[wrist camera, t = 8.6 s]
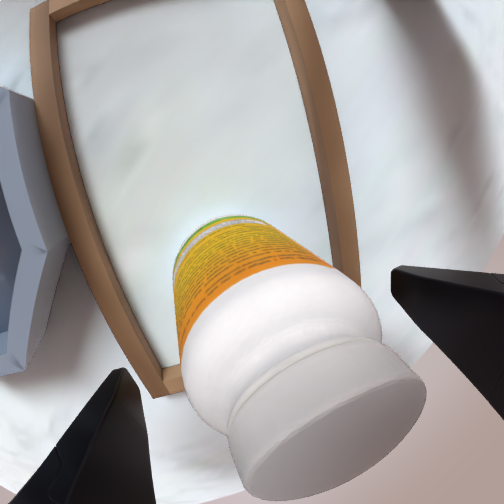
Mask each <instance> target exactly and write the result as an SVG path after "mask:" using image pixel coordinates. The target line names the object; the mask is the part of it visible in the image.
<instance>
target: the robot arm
mask: <svg viewBox="0 0 504 504" xmlns="http://www.w3.org/2000/svg"><path fill="white" fill-rule="evenodd" d="M391 293H392V296H393V297H394V298H395V300H396V301H397V302H398V303H399V304H400V306H401V307H402V308H403V309H404V310H405V312H406V313H407V314H408V315H409V317H410V318H411V319H412V320H413V321H414V323H415V324H416V325H417V326H418V327H419V328H420V329H421V330H422V331H423V332H424V333H425V334H426V335H427V336H428V337H429V338H430V339H431V340H432V341H433V342H434V343H435V344H436V345H437V346H438V347H439V348H440V349H441V351H442V352H443V353H444V354H445V355H446V356H447V357H448V358H449V359H450V360H451V361H452V362H453V363H454V364H455V365H456V366H457V367H458V369H460V371H461V372H462V373H463V374H464V375H465V376H466V377H467V378H468V379H469V380H470V382H471V383H472V384H473V385H474V386H475V387H476V388H477V389H478V391H479V392H480V393H481V394H482V395H483V396H484V397H485V398H486V400H487V401H488V402H489V403H490V405H491V406H492V407H493V408H494V409H495V410H496V412H497V413H498V414H499V415H500V416H501V417H502V419H503V420H504V274H496V273H483V272H472V271H461V270H449V269H438V268H426V267H415V266H403V265H401V266H399V267H396V268H394V269H393V270H392V271H391ZM8 504H156V500H155V494H154V487H153V480H152V472H151V463H150V454H149V444H148V434H147V428H146V423H145V417H144V412H143V406H142V400H141V394H140V390H139V387H138V385H137V384H136V382H135V381H134V379H133V378H132V376H131V375H130V373H129V372H128V370H127V369H126V368H119V369H115V370H113V371H112V372H111V373H110V374H109V375H108V377H107V378H106V379H105V381H104V382H103V383H102V384H101V386H100V387H99V388H98V390H97V391H96V392H95V393H94V395H93V396H92V397H91V399H90V400H89V401H88V403H87V404H86V405H85V406H84V408H83V409H82V410H81V412H80V413H79V414H78V416H77V417H76V418H75V420H74V421H73V422H72V424H71V425H70V426H69V428H68V429H67V430H66V432H65V433H64V435H63V436H62V437H61V439H60V440H59V441H58V443H57V444H56V447H54V448H53V450H52V451H51V452H50V454H49V455H48V456H47V458H46V459H45V460H44V462H43V463H42V464H41V466H40V467H39V468H38V469H37V471H36V472H35V473H34V474H33V476H32V477H31V478H30V479H29V480H28V482H27V483H26V484H25V485H24V486H23V487H22V489H21V490H20V491H19V492H18V493H17V495H16V496H15V497H14V498H13V500H11V502H10V503H8Z"/></svg>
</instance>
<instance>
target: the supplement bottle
mask: <svg viewBox="0 0 504 504" xmlns="http://www.w3.org/2000/svg"><path fill="white" fill-rule="evenodd" d="M173 291H174V303H175V315H176V325H177V335H178V345H179V355H180V365H181V373H182V377H183V382H184V387H185V390H186V393H187V396H188V399H189V401H190V403H191V405H192V407H193V408H194V410H195V411H196V412H197V414H198V415H199V416H200V417H201V419H202V420H203V421H205V422H206V423H207V424H208V425H209V426H211V427H212V428H213V429H215V430H217V431H218V432H220V433H222V434H224V435H226V436H227V437H228V442H229V448H230V451H231V454H232V457H233V460H234V462H235V465H236V468H237V471H238V473H239V476H240V479H241V481H242V484H243V486H244V488H245V489H246V490H247V491H248V493H250V494H251V495H252V496H254V497H257V498H260V499H263V500H268V501H287V500H294V499H300V498H305V497H309V496H312V495H315V494H319V493H322V492H325V491H327V490H330V489H333V488H335V487H337V486H339V485H342V484H343V483H346V482H348V481H350V480H351V479H353V478H355V477H357V476H358V475H360V474H362V473H363V472H365V471H366V470H368V469H369V468H371V467H372V466H374V465H375V464H376V463H378V462H379V461H380V460H382V458H384V457H385V456H386V455H388V454H389V452H391V451H392V450H393V449H394V448H395V447H396V446H397V445H398V444H399V443H400V442H401V441H402V440H403V438H404V437H405V436H406V435H407V434H408V432H409V431H410V430H411V429H412V427H413V426H414V424H415V423H416V421H417V420H418V418H419V416H420V414H421V412H422V410H423V407H424V404H425V401H426V388H425V385H424V383H423V381H422V379H421V378H420V377H419V376H418V375H417V374H416V373H415V372H413V370H412V369H410V367H409V366H408V365H407V364H406V363H405V362H404V361H403V360H402V359H400V358H399V356H398V355H397V354H396V353H395V352H394V351H393V350H392V349H391V348H389V347H387V346H385V345H383V344H381V343H382V330H381V323H380V319H379V316H378V313H377V310H376V308H375V306H374V304H373V302H372V301H371V299H370V298H369V296H368V295H367V294H366V293H365V291H364V290H363V289H362V288H361V287H359V286H358V285H357V284H356V283H355V282H354V281H352V280H351V279H350V278H348V277H347V276H346V275H344V274H343V273H341V272H340V271H339V270H337V269H336V268H334V267H333V266H331V265H330V264H328V263H327V262H325V261H324V260H322V259H321V258H319V257H318V256H316V255H315V254H314V253H312V252H311V251H309V250H308V249H306V248H305V247H303V246H302V245H300V244H299V243H297V242H296V241H294V240H293V239H291V238H290V237H288V236H287V235H285V234H284V233H282V232H281V231H279V230H278V229H276V228H275V227H273V226H272V225H270V224H268V223H267V222H265V221H263V220H261V219H258V218H255V217H252V216H247V215H226V216H221V217H217V218H214V219H212V220H209V221H207V222H206V223H204V224H202V225H201V226H199V227H198V228H197V229H195V230H194V231H193V232H192V233H191V234H190V235H189V236H188V237H187V239H186V240H185V241H184V242H183V244H182V245H181V247H180V249H179V251H178V253H177V256H176V259H175V263H174V268H173Z"/></svg>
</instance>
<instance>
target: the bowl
mask: <svg viewBox="0 0 504 504" xmlns="http://www.w3.org/2000/svg"><path fill="white" fill-rule="evenodd" d="M69 245H70V239H69V236H68V233H67V231H66V228H65V225H64V222H63V219H62V216H61V213H60V210H59V207H58V204H57V201H56V198H55V194H54V191H53V187H52V184H51V180H50V177H49V173H48V169H47V165H46V161H45V157H44V152H43V148H42V143H41V138H40V133H39V128H38V123H37V117H36V110H35V103H34V99H32V98H30V97H27V96H25V95H23V94H21V93H18V92H16V91H14V90H12V89H9V88H7V87H5V86H2V85H0V376H3V375H8V374H13V373H18V372H23V371H25V370H26V368H27V366H28V364H29V362H30V360H31V358H32V356H33V354H34V352H35V350H36V348H37V347H38V345H39V343H40V341H41V339H42V337H43V336H44V334H45V332H46V328H47V323H48V318H49V314H50V310H51V306H52V302H53V298H54V294H55V290H56V287H57V283H58V279H59V276H60V273H61V269H62V266H63V263H64V260H65V257H66V254H67V251H68V248H69Z"/></svg>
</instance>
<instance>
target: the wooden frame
mask: <svg viewBox="0 0 504 504" xmlns="http://www.w3.org/2000/svg"><path fill="white" fill-rule="evenodd" d="M107 1H110V0H47V1H45V2H43V3H41V4H39V5H37V6H36V7H34V8H32V9H30V30H29V37H30V64H31V77H32V87H33V96H34V103H35V110H36V117H37V123H38V128H39V133H40V138H41V143H42V148H43V152H44V157H45V161H46V165H47V169H48V173H49V177H50V180H51V184H52V187H53V191H54V194H55V198H56V201H57V204H58V207H59V210H60V213H61V216H62V219H63V222H64V225H65V228H66V231H67V233H68V236H69V239H70V242H71V244H72V247H73V249H74V252H75V254H76V257H77V259H78V262H79V264H80V266H81V269H82V271H83V273H84V276H85V278H86V280H87V282H88V285H89V287H90V289H91V291H92V293H93V295H94V298H95V300H96V302H97V304H98V306H99V308H100V310H101V312H102V314H103V316H104V318H105V320H106V321H107V323H108V325H109V327H110V329H111V331H112V333H113V334H114V336H115V338H116V340H117V342H118V343H119V345H120V347H121V349H122V350H123V352H124V354H125V355H126V357H127V359H128V360H129V362H130V364H131V365H132V367H133V369H134V370H135V372H136V373H137V375H138V377H139V378H140V380H141V381H142V383H143V384H144V386H145V387H146V389H147V390H148V392H149V393H150V395H151V396H152V398H153V399H155V398H159V397H162V396H166V395H170V394H174V393H177V392H181V391H185V387H184V382H183V377H182V373H181V365H180V364H178V365H174V366H171V367H168V368H164V369H162V368H161V366H160V364H159V363H158V361H157V359H156V357H155V355H154V354H153V352H152V350H151V348H150V346H149V344H148V342H147V340H146V339H145V337H144V335H143V333H142V331H141V329H140V327H139V325H138V323H137V321H136V319H135V317H134V315H133V312H132V310H131V308H130V306H129V304H128V302H127V300H126V297H125V295H124V293H123V291H122V289H121V286H120V284H119V282H118V279H117V277H116V275H115V272H114V270H113V267H112V265H111V263H110V260H109V258H108V255H107V253H106V250H105V247H104V245H103V242H102V239H101V237H100V234H99V231H98V228H97V225H96V223H95V220H94V217H93V214H92V211H91V208H90V205H89V202H88V198H87V195H86V192H85V189H84V185H83V182H82V178H81V175H80V171H79V167H78V164H77V160H76V156H75V152H74V148H73V143H72V139H71V135H70V130H69V125H68V120H67V115H66V110H65V104H64V98H63V92H62V85H61V78H60V70H59V61H58V50H57V36H56V22H58V21H60V20H62V19H64V18H66V17H69V16H71V15H73V14H76V13H78V12H80V11H83V10H85V9H88V8H91V7H93V6H96V5H99V4H101V3H104V2H107ZM274 2H275V5H276V8H277V11H278V14H279V17H280V20H281V23H282V27H283V30H284V33H285V36H286V39H287V43H288V46H289V50H290V53H291V56H292V60H293V64H294V67H295V71H296V74H297V78H298V82H299V86H300V90H301V94H302V98H303V102H304V106H305V110H306V114H307V119H308V123H309V127H310V132H311V137H312V141H313V146H314V151H315V156H316V161H317V166H318V171H319V177H320V182H321V188H322V193H323V199H324V205H325V211H326V218H327V224H328V231H329V238H330V245H331V253H332V261H333V267H334V268H336V269H337V270H339V271H340V272H341V273H343V274H344V275H346V276H347V277H348V278H350V279H351V280H352V281H354V282H355V283H356V284H357V285H358V286H359V287H361V276H360V262H359V250H358V239H357V229H356V220H355V212H354V204H353V197H352V190H351V183H350V176H349V170H348V164H347V159H346V153H345V147H344V142H343V137H342V132H341V127H340V122H339V118H338V113H337V109H336V105H335V100H334V96H333V92H332V88H331V84H330V80H329V76H328V73H327V69H326V65H325V62H324V58H323V55H322V52H321V48H320V45H319V42H318V38H317V35H316V32H315V29H314V26H313V23H312V20H311V17H310V14H309V12H308V9H307V6H306V3H305V1H304V0H274Z"/></svg>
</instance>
